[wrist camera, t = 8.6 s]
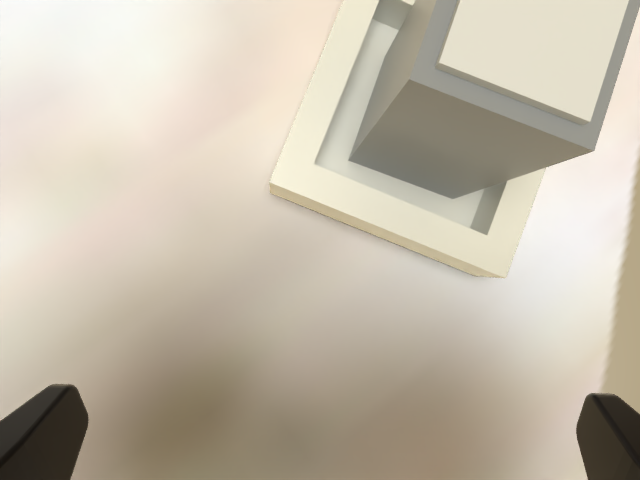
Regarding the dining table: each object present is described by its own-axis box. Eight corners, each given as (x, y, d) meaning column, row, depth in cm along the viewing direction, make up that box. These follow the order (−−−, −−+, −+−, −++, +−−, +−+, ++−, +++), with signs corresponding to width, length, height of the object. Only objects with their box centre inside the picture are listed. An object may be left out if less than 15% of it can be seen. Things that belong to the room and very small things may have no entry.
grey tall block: (452, 199, 20) (602, 147, 11) (348, 160, 20) (413, 74, 11) (487, 96, 21) (661, -38, 11) (384, 56, 20) (478, -115, 11)
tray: (474, 275, 21) (505, 278, 18) (269, 192, 20) (269, 182, 18) (548, 77, 22) (589, 49, 19) (352, -10, 21) (364, -51, 18)
